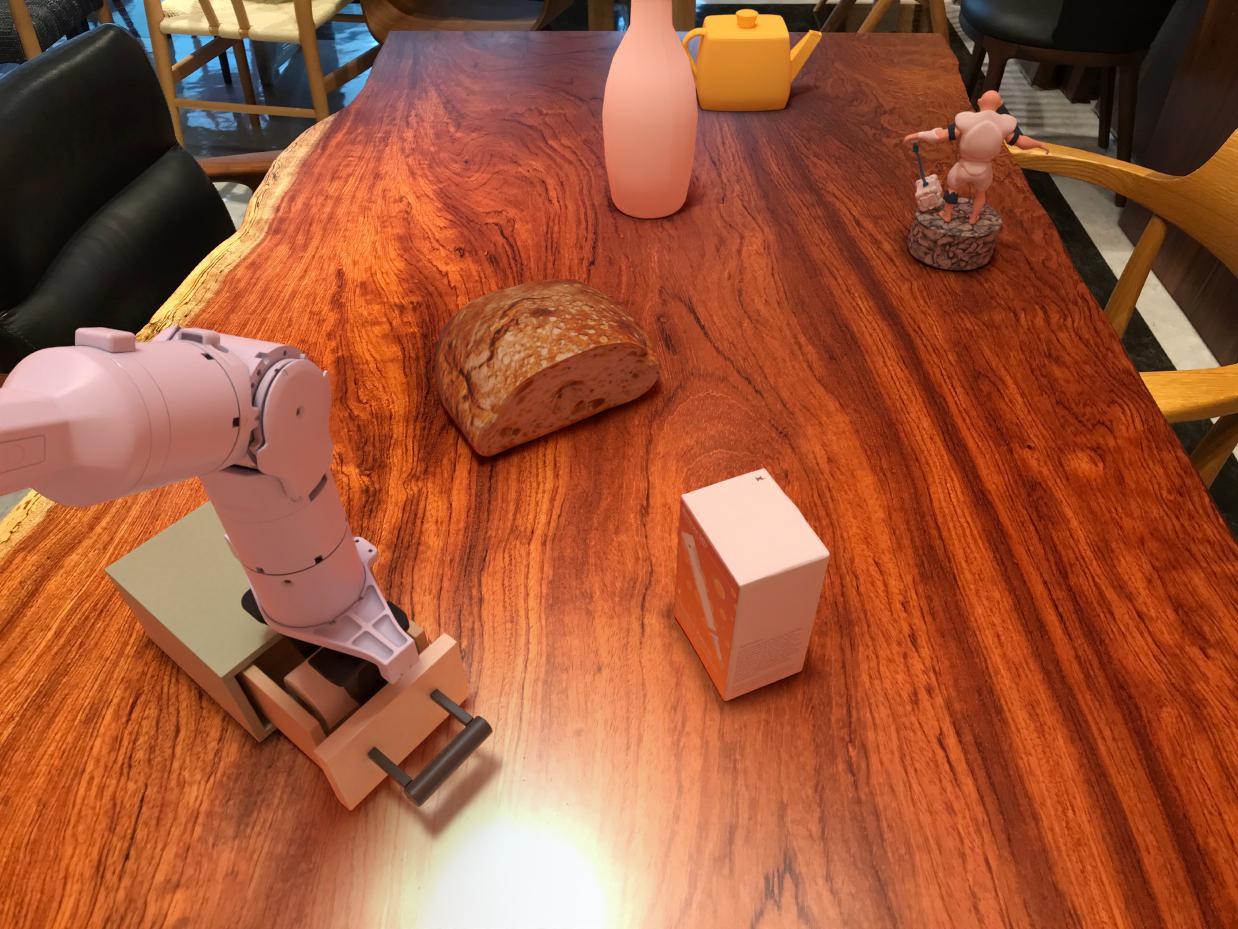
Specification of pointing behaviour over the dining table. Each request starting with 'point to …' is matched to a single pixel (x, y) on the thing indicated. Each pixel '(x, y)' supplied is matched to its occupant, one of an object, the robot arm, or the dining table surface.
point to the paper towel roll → (318, 695)
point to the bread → (539, 361)
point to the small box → (747, 581)
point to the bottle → (650, 115)
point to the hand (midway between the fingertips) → (350, 674)
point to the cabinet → (198, 608)
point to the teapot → (746, 61)
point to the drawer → (375, 720)
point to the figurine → (950, 223)
